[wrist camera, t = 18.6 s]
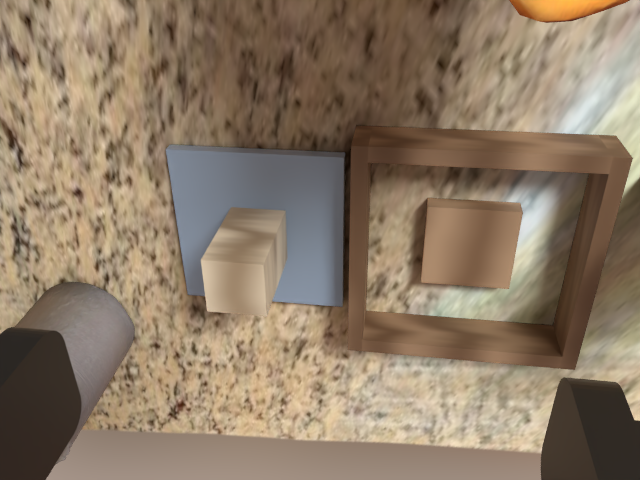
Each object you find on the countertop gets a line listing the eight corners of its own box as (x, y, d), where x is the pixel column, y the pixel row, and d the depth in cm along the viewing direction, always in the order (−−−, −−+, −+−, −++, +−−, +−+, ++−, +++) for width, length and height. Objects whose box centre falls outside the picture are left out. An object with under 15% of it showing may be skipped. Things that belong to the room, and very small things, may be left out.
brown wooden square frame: (352, 320, 55) (347, 349, 51) (356, 125, 45) (351, 145, 42) (564, 337, 52) (574, 369, 49) (616, 135, 43) (632, 158, 40)
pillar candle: (34, 335, 62) (-64, 457, 49) (48, 264, 56) (-58, 379, 44) (125, 371, 63) (52, 499, 50) (146, 304, 57) (71, 428, 45)
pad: (191, 288, 56) (187, 294, 55) (170, 144, 48) (165, 149, 47) (343, 300, 54) (342, 306, 53) (345, 152, 47) (343, 157, 46)
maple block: (235, 254, 52) (207, 311, 45) (231, 206, 49) (200, 260, 43) (287, 257, 51) (266, 316, 44) (285, 210, 49) (263, 264, 42)
